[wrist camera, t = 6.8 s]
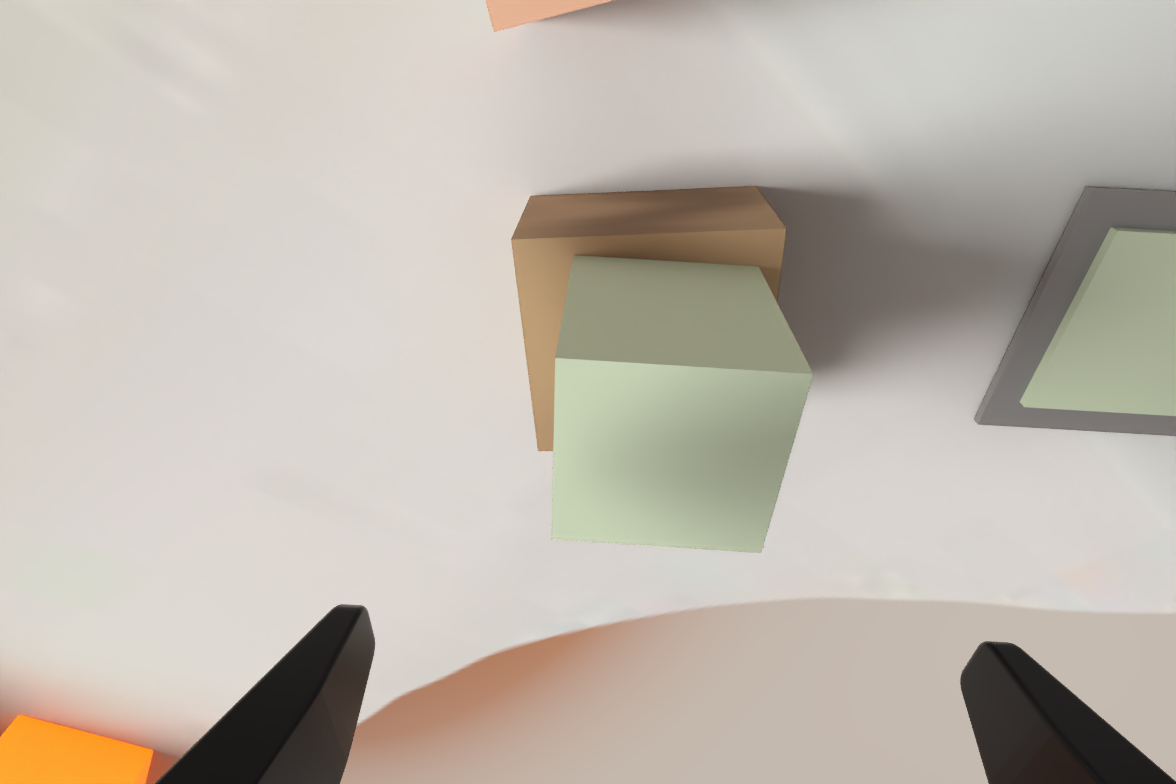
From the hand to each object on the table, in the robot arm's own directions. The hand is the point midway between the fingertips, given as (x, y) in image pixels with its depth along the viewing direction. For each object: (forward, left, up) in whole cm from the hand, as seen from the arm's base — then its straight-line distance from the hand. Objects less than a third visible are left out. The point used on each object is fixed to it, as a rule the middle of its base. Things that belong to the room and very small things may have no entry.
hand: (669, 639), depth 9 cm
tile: (-16, 0, -12) cm, 20 cm away
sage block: (0, 0, -9) cm, 9 cm away
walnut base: (0, 0, -13) cm, 13 cm away
